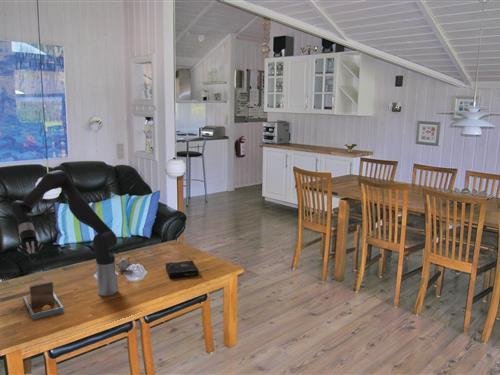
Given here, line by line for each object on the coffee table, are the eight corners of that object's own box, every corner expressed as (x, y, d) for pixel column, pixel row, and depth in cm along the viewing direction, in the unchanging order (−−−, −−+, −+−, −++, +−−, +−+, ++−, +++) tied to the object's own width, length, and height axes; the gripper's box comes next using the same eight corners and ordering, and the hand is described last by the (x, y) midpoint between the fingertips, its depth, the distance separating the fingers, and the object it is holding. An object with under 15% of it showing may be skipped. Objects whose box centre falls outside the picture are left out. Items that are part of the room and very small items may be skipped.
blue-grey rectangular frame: (28, 310, 215) (28, 305, 214) (58, 303, 222) (58, 298, 222) (32, 319, 206) (32, 314, 205) (63, 312, 213) (63, 307, 213)
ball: (52, 309, 215) (53, 306, 212) (47, 316, 212) (48, 313, 209) (45, 305, 215) (45, 302, 212) (39, 312, 212) (40, 309, 209)
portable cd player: (192, 266, 275) (192, 260, 274) (197, 276, 259) (197, 270, 258) (165, 269, 269) (165, 262, 269) (169, 279, 254) (169, 273, 253)
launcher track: (23, 299, 227) (23, 296, 226) (52, 292, 234) (52, 290, 234) (28, 311, 214) (28, 308, 213) (59, 304, 221) (59, 301, 221)
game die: (125, 277, 264) (121, 269, 257) (115, 270, 268) (111, 261, 260) (136, 267, 269) (132, 258, 261) (126, 260, 272) (123, 251, 265)
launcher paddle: (31, 305, 219) (29, 284, 217) (52, 300, 225) (51, 280, 222) (32, 308, 217) (30, 286, 214) (54, 302, 222) (52, 282, 220)
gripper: (13, 231, 233) (19, 260, 226) (41, 227, 240) (47, 255, 233) (13, 238, 238) (18, 266, 231) (40, 234, 246) (46, 261, 238)
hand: (33, 260), depth 232 cm, fingers closed
